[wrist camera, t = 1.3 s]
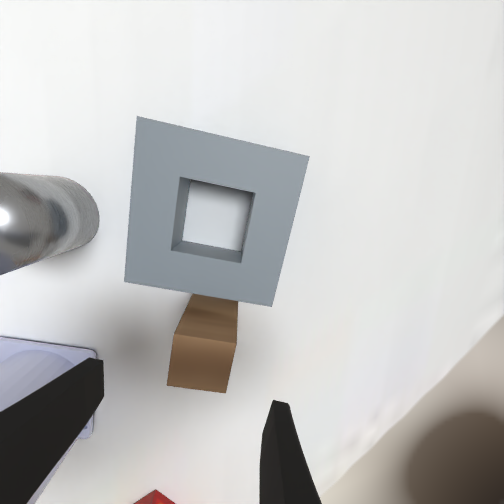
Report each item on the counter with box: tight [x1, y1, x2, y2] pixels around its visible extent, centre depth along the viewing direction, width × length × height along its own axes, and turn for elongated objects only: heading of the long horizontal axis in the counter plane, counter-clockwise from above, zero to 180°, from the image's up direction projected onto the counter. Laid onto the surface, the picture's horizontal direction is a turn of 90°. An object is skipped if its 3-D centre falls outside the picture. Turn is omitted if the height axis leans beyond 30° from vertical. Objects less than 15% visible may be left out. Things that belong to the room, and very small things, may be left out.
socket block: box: [124, 116, 310, 307], centre depth 16 cm, size 10×10×3 cm
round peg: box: [0, 172, 99, 275], centre depth 14 cm, size 5×5×6 cm
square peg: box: [167, 294, 238, 393], centre depth 17 cm, size 4×4×6 cm
